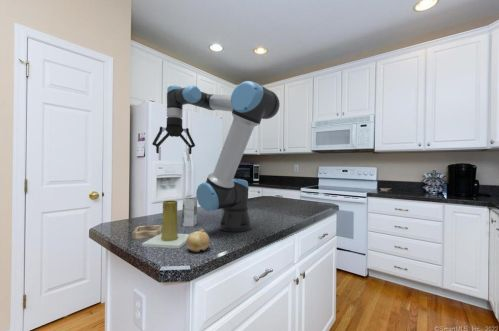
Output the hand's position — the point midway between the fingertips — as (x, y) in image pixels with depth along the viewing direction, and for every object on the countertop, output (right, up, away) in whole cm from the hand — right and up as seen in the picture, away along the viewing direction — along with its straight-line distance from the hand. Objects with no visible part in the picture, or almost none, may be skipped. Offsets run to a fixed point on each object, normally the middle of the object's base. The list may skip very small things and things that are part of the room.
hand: (174, 160), depth 118 cm
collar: (-5, -32, -19) cm, 37 cm away
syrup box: (+8, -32, -2) cm, 33 cm away
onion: (+20, -32, -36) cm, 52 cm away
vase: (+7, -31, -27) cm, 42 cm away
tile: (+7, -32, -27) cm, 42 cm away
